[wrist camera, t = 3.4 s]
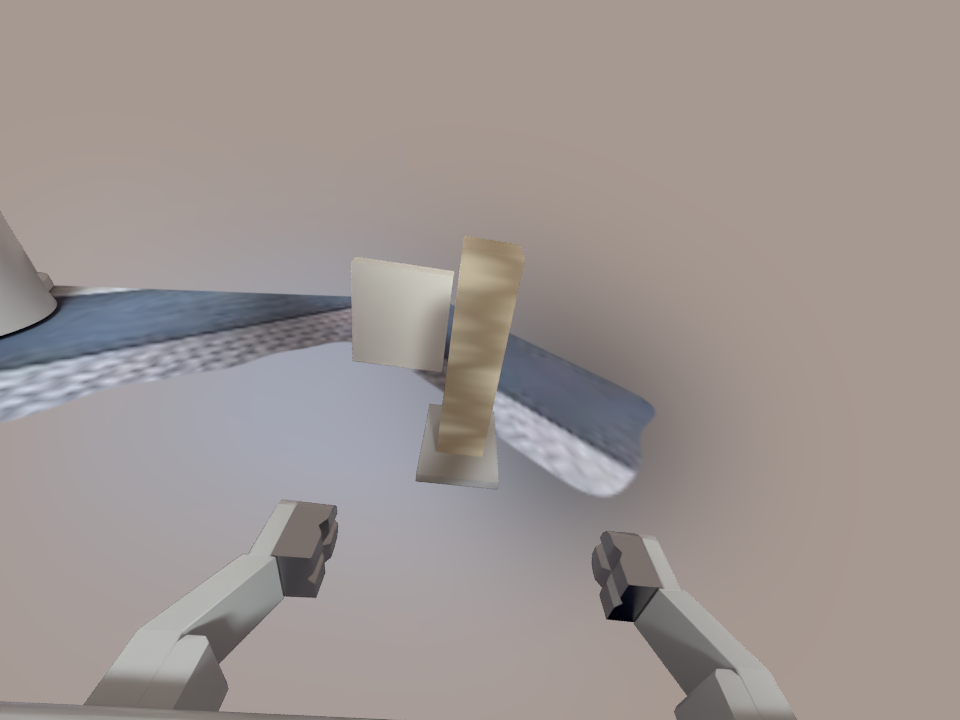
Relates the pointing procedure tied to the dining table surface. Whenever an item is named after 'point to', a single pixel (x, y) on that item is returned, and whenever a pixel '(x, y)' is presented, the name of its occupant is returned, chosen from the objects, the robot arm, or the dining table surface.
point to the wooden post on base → (473, 369)
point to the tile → (399, 313)
